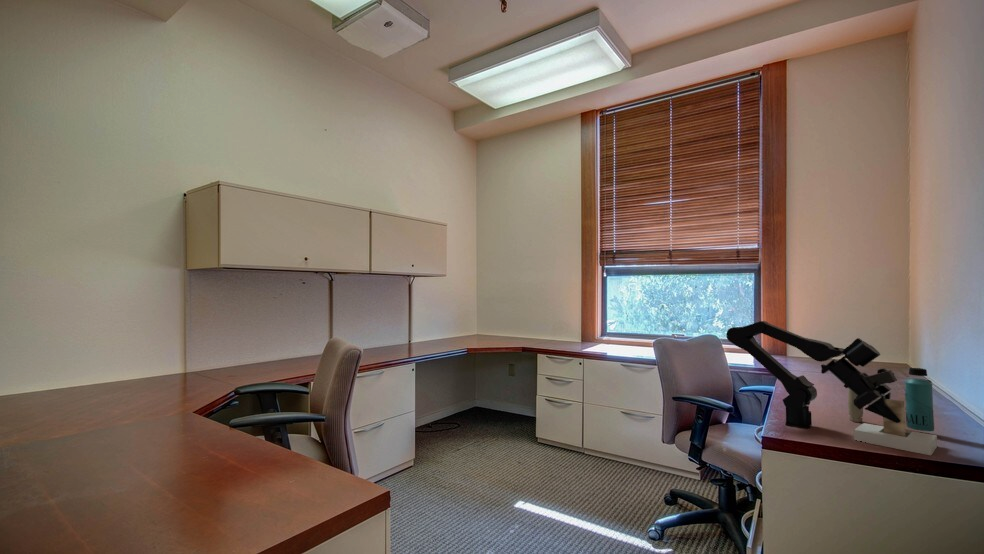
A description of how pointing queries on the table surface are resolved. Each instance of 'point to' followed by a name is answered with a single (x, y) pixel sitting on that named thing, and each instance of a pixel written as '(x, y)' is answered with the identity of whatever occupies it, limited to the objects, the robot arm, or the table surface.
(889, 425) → the plug
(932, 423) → the beverage bottle
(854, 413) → the handle
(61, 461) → the table surface
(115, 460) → the table surface
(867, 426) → the block
